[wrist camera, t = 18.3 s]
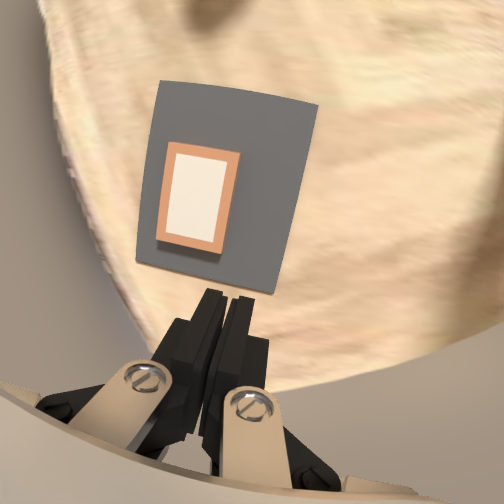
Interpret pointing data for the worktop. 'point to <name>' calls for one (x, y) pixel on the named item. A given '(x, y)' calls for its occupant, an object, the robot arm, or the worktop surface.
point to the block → (197, 196)
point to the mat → (248, 181)
